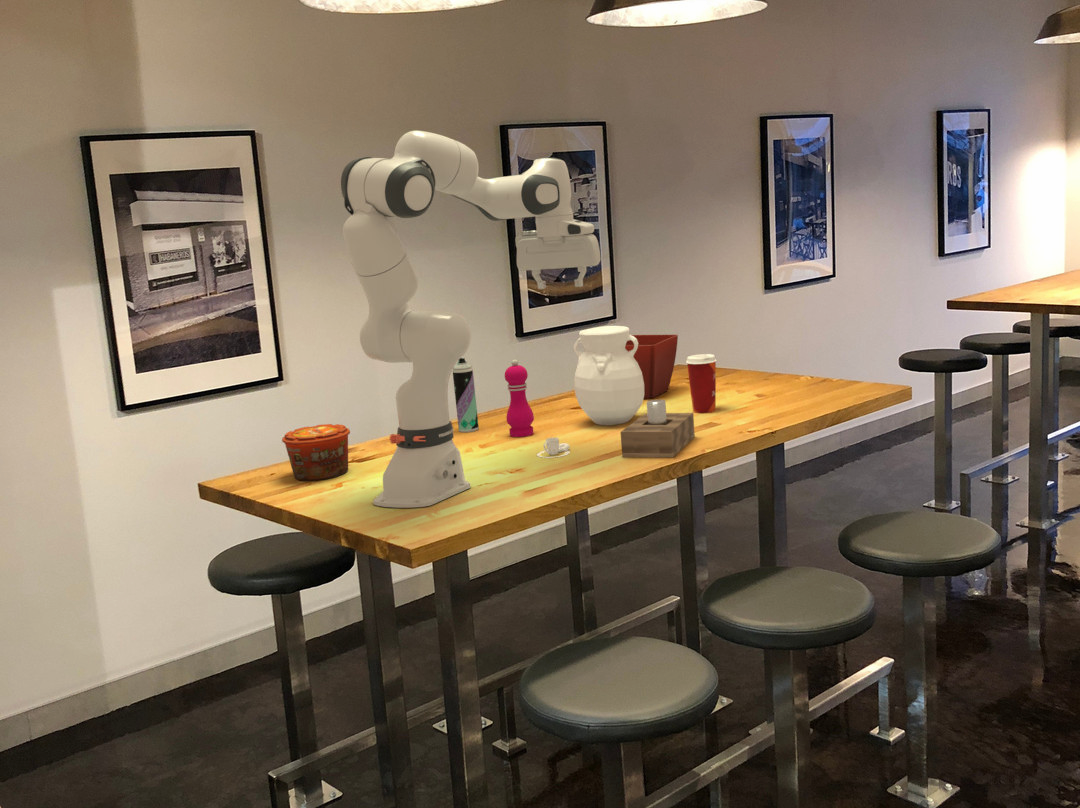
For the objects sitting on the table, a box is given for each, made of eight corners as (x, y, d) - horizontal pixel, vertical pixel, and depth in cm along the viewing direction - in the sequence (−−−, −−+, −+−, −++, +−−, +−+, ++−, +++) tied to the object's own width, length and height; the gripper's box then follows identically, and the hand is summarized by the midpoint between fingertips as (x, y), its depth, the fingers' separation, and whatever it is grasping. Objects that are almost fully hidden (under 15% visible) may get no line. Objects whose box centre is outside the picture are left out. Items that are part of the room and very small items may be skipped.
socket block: (672, 457, 239) (671, 432, 238) (622, 457, 244) (620, 431, 243) (694, 436, 257) (693, 412, 256) (647, 436, 262) (645, 413, 261)
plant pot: (657, 402, 304) (653, 344, 301) (598, 401, 314) (593, 344, 310) (682, 389, 320) (679, 334, 317) (625, 388, 330) (621, 335, 326)
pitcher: (569, 430, 277) (561, 336, 273) (587, 415, 295) (579, 326, 290) (639, 428, 272) (632, 332, 267) (652, 413, 289) (646, 322, 284)
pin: (665, 445, 248) (662, 403, 246) (647, 444, 249) (644, 403, 247) (670, 440, 252) (667, 399, 250) (652, 440, 253) (649, 399, 251)
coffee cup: (725, 410, 284) (722, 355, 281) (698, 415, 281) (695, 359, 278) (709, 406, 292) (706, 352, 289) (683, 410, 289) (679, 356, 286)
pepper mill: (532, 437, 273) (525, 361, 269) (505, 438, 275) (497, 362, 271) (537, 430, 280) (531, 356, 276) (511, 432, 282) (504, 358, 278)
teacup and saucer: (565, 449, 259) (564, 433, 258) (578, 455, 251) (576, 438, 251) (532, 455, 256) (530, 438, 255) (543, 461, 248) (542, 444, 248)
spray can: (455, 432, 288) (447, 359, 284) (465, 427, 293) (458, 356, 289) (472, 432, 285) (464, 359, 282) (482, 428, 290) (475, 356, 286)
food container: (274, 478, 254) (268, 435, 252) (328, 462, 265) (323, 421, 263) (313, 486, 243) (307, 441, 241) (368, 469, 255) (362, 426, 253)
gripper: (509, 232, 248) (515, 291, 251) (591, 226, 240) (596, 286, 243) (520, 231, 254) (525, 288, 257) (600, 224, 246) (604, 283, 249)
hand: (560, 287), depth 250 cm, fingers open, 8 cm apart
